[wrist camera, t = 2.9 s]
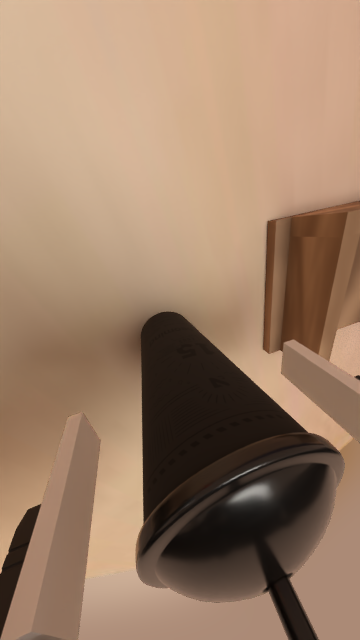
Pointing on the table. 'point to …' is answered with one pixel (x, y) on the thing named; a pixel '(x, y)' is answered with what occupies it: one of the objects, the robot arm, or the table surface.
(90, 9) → the table surface
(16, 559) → the robot arm
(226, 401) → the drinking cup
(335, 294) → the u rest
